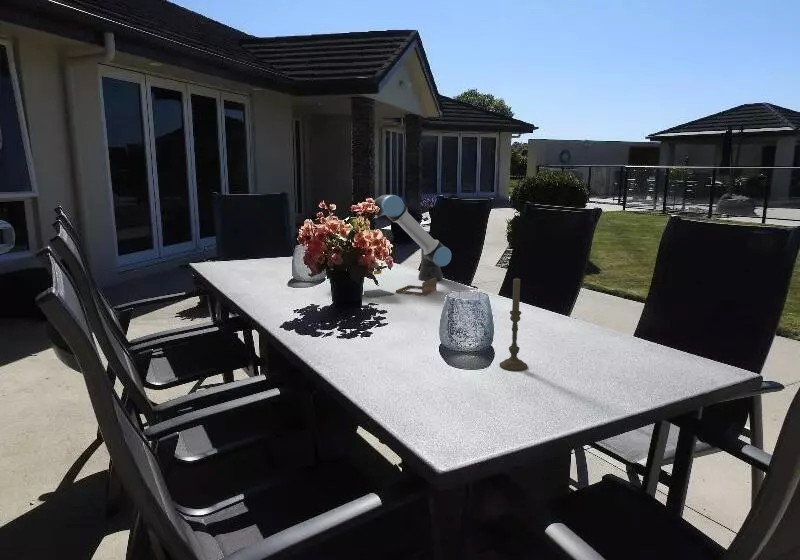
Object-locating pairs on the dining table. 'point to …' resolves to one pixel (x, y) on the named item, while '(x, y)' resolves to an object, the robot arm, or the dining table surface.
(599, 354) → the dining table surface
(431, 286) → the dock
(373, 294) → the mat
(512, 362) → the candlestick holder
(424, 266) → the robot arm
